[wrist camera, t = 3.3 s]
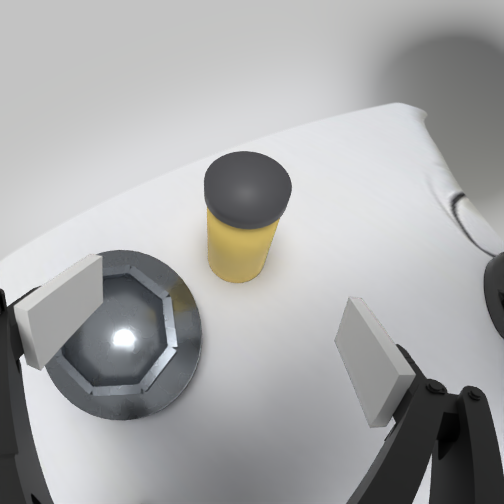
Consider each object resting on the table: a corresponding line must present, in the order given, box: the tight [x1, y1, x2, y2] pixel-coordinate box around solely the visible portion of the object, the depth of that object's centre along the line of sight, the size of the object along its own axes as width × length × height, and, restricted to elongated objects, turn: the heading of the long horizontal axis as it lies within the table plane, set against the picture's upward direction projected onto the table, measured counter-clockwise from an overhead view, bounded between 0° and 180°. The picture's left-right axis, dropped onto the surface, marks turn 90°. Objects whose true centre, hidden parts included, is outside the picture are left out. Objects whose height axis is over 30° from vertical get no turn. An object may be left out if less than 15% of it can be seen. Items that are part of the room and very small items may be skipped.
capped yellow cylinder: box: [204, 151, 292, 283], centre depth 27 cm, size 6×6×12 cm
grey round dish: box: [45, 250, 202, 420], centre depth 25 cm, size 16×16×4 cm
